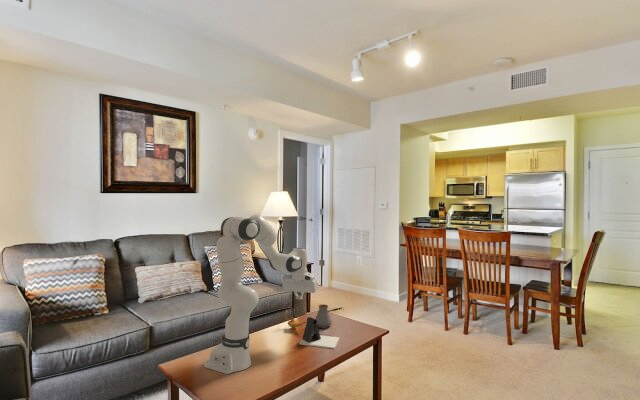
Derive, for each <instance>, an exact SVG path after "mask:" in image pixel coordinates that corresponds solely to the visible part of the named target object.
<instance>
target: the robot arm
mask: <svg viewBox="0 0 640 400" xmlns="http://www.w3.org/2000/svg"><path fill="white" fill-rule="evenodd" d="M220 236H221V237H219V239H218V240H217V242H216V255H217V261H218V266H219V271H220V272H219V273H220V280H221V281H220V286H219V287H218V289H217V297H218V298H219V299H220V301H221V302H222V303H224V304H225V305H228V306H230V307H231V311H230V315H229V316H228V317H227V318H226V319H225V330H224V331H225V332H224V333H225V334H223V335H222V337H220V340H219V341H221V343H219V344H218V345H216V346H215V347H214V348H213V349H212V350H211V352H209V358H207V359H206V360H205V361H204V364H203V368H207V369H210V370H211V371H212V370H213V371H216V372H219V373H223V374H225V375H228V374H231V373H235V372H240V371H243V370H246V369H248V368H249V367H251V366H252V360H251V355H250V354H251V353H250V333H249V327H250V317H251V314H252V311H253V310H254V309H255V308H256V307H257V305H258V303H259V301H260V300H259V299H260V297H259V293H258V292H257V291H256V290H255V289H254V288H252V287H250V286H248V285H244V284H243V283H242V276H243V275H244V273H245V265H244V261H243V255H242V251H241V242H242V241H251V240H254V241H255V242H256V243H257V245H258V247H259V249H260V250H261V251H262V253H263V254H264V255H265V257H266V259H267V260H268V263H269V266H270V267H271V269H273V270H274V271H281V272H286V273H285V274H283V276H282V286H281V287H282V289H281V290H283V291H284V292H285V291H286V292H288V291H289V292H293V294H294V295H295V300H301V301H302V300H303V297H304V294H305V293H308V294H309V293H310V294H311V293H312V294H315V292H317V287H318V285H317V281H316V279H315V277H316V275H315V274H313V273H311V272H309V271H308V268H307V265H308V253H307V249H305V248H303V247H302V248H301V247H294V248H293V249H292V251H291V252H289V253H288V254H287V253H281V252H279V251H277V250H276V248H274V246H273V245H274V244H276V243H275V242H276V241H277V238H278V235H277V231H276V230H275V228H273V226H272V225H271V224H270V223H269V221H268V220H266V219H265V217H263V216H262V215H260V214H253V215H251V216H249V218H246V217H242V216H235V217H234V216H230V217H227V218H225V219H224V220H222V222H221V225H220ZM287 273H291V274H287ZM298 292H299V293H300V294H301V295H298Z"/></svg>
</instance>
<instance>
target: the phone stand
mask: <svg viewBox="0 0 640 400" xmlns="http://www.w3.org/2000/svg"><path fill="white" fill-rule="evenodd" d="M306 322H307V323H305V327H304V330H303V334H302V336H301V338H302V339H303V340H305V341H306V342H308V343H309V342H313V341H316V340H319V339H321V337H320V335H321V334H320V330H319V327H317V320H315V318H314V317H311V316H308V317H307V318H306ZM302 339H301V340H302Z"/></svg>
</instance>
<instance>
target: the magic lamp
mask: <svg viewBox="0 0 640 400" xmlns="http://www.w3.org/2000/svg"><path fill="white" fill-rule="evenodd" d="M284 318H285V320H287V321H288V322H287V324H288V327H290V328H289V331H291V332H296V331H298V328H297V327H301V326H303V325H304V324H307V321H303V322H301V321H298V320H295V318H294V317H291V318H289V316H288V310H287V309H285V314H284Z"/></svg>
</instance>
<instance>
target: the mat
mask: <svg viewBox="0 0 640 400" xmlns="http://www.w3.org/2000/svg"><path fill="white" fill-rule="evenodd" d="M320 337H321V339H319V340H316V341H313V342H309V343H308V342H306V341H305V340H303V339H301V341H300V342H299V345H302V346H310V347H318V348H324V349H325V348H326V349H333V350H335V349H336V347H337V345H338V343H339V341H340V338H341V337H338V336H329V335H321V334H320Z"/></svg>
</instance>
